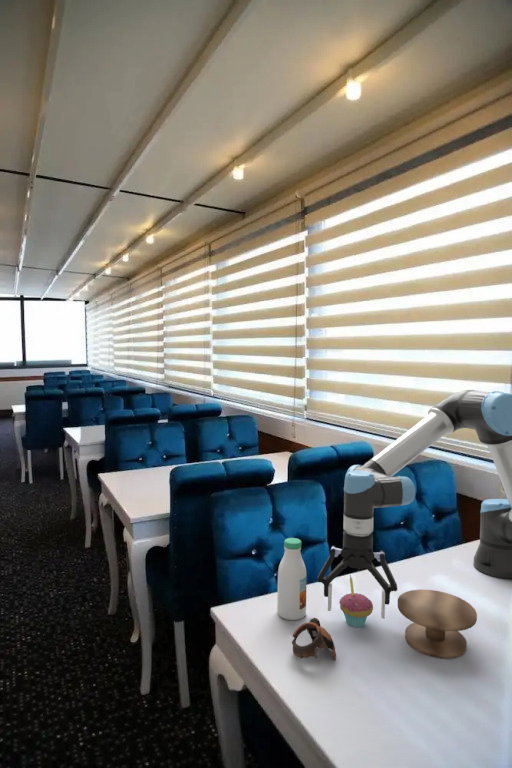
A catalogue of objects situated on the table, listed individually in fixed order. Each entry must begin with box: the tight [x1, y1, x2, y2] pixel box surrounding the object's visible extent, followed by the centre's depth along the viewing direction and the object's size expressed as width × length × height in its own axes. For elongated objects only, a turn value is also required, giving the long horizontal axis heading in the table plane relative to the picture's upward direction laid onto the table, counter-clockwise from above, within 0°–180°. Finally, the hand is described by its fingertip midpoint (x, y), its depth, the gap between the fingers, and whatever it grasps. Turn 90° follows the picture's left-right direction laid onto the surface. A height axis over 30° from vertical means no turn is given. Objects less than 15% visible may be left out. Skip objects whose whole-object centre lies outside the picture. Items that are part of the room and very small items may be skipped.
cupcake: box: [339, 574, 374, 628], centre depth 125 cm, size 9×8×12 cm
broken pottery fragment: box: [291, 617, 337, 661], centre depth 112 cm, size 12×10×8 cm
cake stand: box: [397, 588, 478, 660], centre depth 117 cm, size 18×18×9 cm
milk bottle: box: [276, 537, 307, 621], centre depth 129 cm, size 8×8×20 cm
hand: (355, 612), depth 125 cm, fingers open, 13 cm apart
